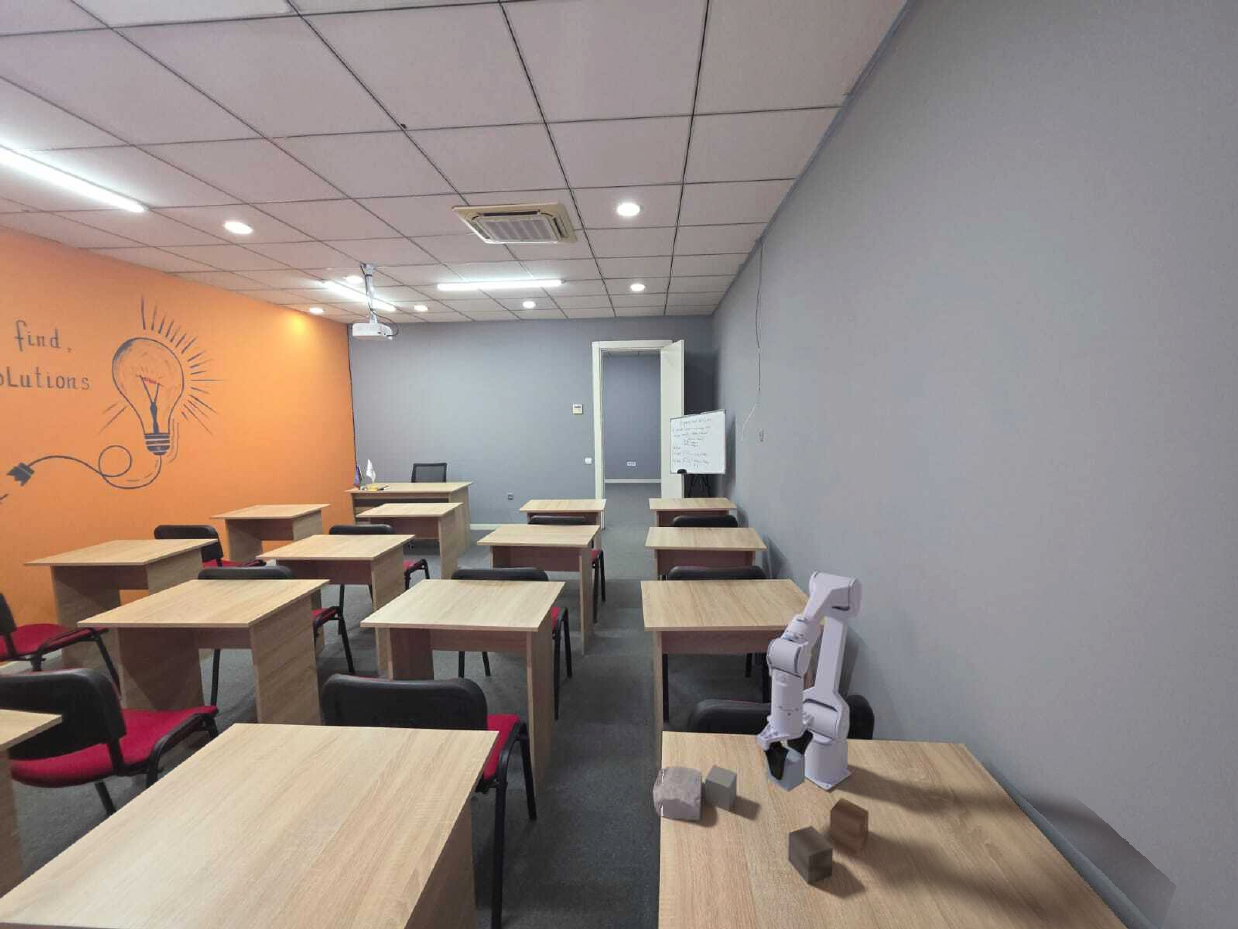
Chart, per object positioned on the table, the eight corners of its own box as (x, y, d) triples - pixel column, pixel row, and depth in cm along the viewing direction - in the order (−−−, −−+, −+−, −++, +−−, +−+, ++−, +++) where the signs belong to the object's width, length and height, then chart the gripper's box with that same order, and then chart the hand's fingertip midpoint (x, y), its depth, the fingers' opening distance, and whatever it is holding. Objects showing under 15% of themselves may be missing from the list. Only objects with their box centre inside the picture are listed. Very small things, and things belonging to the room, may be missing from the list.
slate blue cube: (782, 767, 97) (783, 743, 97) (804, 782, 93) (805, 756, 93) (766, 777, 94) (766, 752, 94) (788, 792, 90) (788, 766, 90)
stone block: (653, 826, 95) (704, 824, 93) (649, 802, 95) (699, 799, 93) (659, 786, 107) (705, 783, 105) (655, 764, 107) (700, 761, 105)
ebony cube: (811, 852, 87) (811, 825, 87) (832, 876, 82) (832, 847, 82) (788, 860, 85) (788, 833, 85) (808, 884, 81) (808, 855, 80)
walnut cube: (840, 822, 94) (841, 797, 94) (867, 837, 91) (868, 811, 90) (829, 836, 91) (830, 810, 90) (857, 852, 87) (858, 826, 87)
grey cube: (713, 787, 103) (713, 764, 103) (736, 796, 101) (736, 773, 100) (704, 802, 99) (705, 778, 99) (728, 812, 96) (729, 787, 96)
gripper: (792, 683, 100) (791, 747, 101) (745, 704, 92) (743, 774, 93) (823, 698, 95) (822, 766, 95) (775, 722, 86) (774, 796, 87)
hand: (785, 771), depth 94 cm, fingers closed on slate blue cube, 5 cm apart
